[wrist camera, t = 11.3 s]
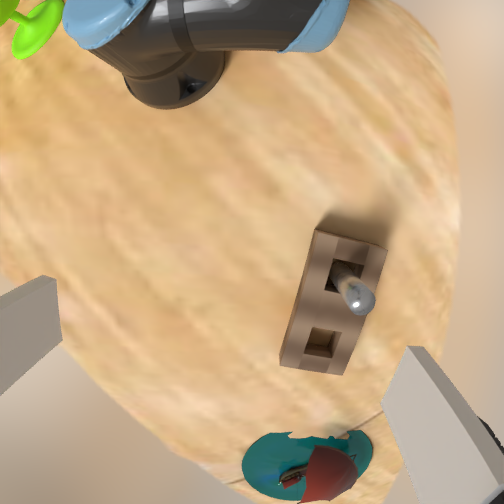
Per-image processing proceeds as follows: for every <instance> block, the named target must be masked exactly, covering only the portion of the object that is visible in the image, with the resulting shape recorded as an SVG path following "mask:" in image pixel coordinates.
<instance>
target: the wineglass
mask: <svg viewBox="0 0 504 504" xmlns="http://www.w3.org/2000/svg"><path fill="white" fill-rule="evenodd" d="M19 1H20V0H0V26H2V25H3V24H4V23H5V22H6V21H7V20H8V19H9V18H10V19H12V20H14V21H16V22H18V23H20V25H19V27H18V29H17V31H16V33H15V35H14V38H13V42H12V53H13V55H14V57H15V58H17V59H25V58H27V57H29V56H31V55H32V54H34V53H35V52H36V51H38V50H39V49H40V48H41V47H42V46H43V45H44V44H45V43H46V42H47V41H48V39H49V38H50V37H51V35H52V34H53V33H54V31H55V30H56V28H57V26H58V25H59V23H60V21H61V19H62V15H63V10H64V2H63V1H62V0H46V1H44V2H42V3H41V4H39V5H38V6H36V7H35V8H34V9H33V10H32V11H30V12H29V14H28V15H27V16H24V15H22V14H21V13H19V12H17V11H15V9H16V8H17V6H18V4H19Z"/></svg>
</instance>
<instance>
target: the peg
mask: <svg viewBox="0 0 504 504" xmlns="http://www.w3.org/2000/svg"><path fill="white" fill-rule="evenodd" d="M329 277H330V279H331V280H332V282H333V283H334V285H335V286H336V288H337V289H338V291H339V292H340V294H341V296H342V297H343V299H344V300H345V302H346V303H347V305H348V306H349V308H350V310H351V311H352V312H353V313H354V314H356V315H366V314H368V313H369V312H370V311H371V310H372V309H373V308H374V306H375V301H376V300H375V296H374V294H373V293H372V292H371V290H370V289H369V288H368V287H367V286H366V285H365V284H364V283H363V282H362V281H361V280H360V279H359V278H358V277H357V276H356V275H355V274H354V273H353V272H352V271H351V270H350V269H349V268H348V267H347V266H346V265H345V264H344V263H341V262H337V263H335V264H333V265H332V266H331V268H330V271H329Z"/></svg>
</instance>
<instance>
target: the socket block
mask: <svg viewBox="0 0 504 504" xmlns="http://www.w3.org/2000/svg"><path fill="white" fill-rule="evenodd" d="M387 251H388V250H386V249H385V248H383V247H381V246H379V245H375V244H372V243H368V242H364V241H360V240H356V239H353V238H349V237H345V236H341V235H337V234H333V233H329V232H325V231H321V230H317V229H314V233H313V237H312V241H311V245H310V249H309V252H308V256H307V260H306V264H305V267H304V271H303V275H302V279H301V282H300V286H299V289H298V293H297V296H296V300H295V303H294V307H293V310H292V314H291V317H290V320H289V324H288V327H287V330H286V334H285V337H284V340H283V344H282V347H281V350H280V353H279V357H280V366H285V367H290V368H296V369H302V370H308V371H314V372H321V373H328V374H335V375H343V373H344V371H345V369H346V366H347V364H348V362H349V359H350V357H351V355H352V352H353V350H354V347H355V345H356V342H357V340H358V337H359V335H360V332H361V329H362V327H363V324H364V321H365V319H366V316H367V314H366V315H356V314H354V313H353V312H352V311H351V310H350V308H349V306H348V305H347V303H346V302H345V300H344V299H343V297H342V296H341V294H340V292H339V291H338V289H337V288H336V286H334V285H330V284H326V282H327V278H328V275H329V271H330V268H331V264H332V261H333V258H336V259H340V260H344V261H348V262H352V263H356V265H355V268H354V272H353V273H354V274H355V275H356V276H357V277H358V278H359V279H360V280H361V281H362V282H363V283H364V284H365V285H366V286H367V287H368V288H369V289H370V290H371V292H372V293H373V294H374V293H375V290H376V287H377V284H378V281H379V278H380V275H381V271H382V268H383V265H384V261H385V258H386V255H387ZM312 327H316V328H322V329H327V330H332V331H334V333H333V335H332V338H331V341H330V344H329V346H328V347H325V346H319V345H313V344H308V343H307V341H308V338H309V335H310V332H311V329H312Z"/></svg>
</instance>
